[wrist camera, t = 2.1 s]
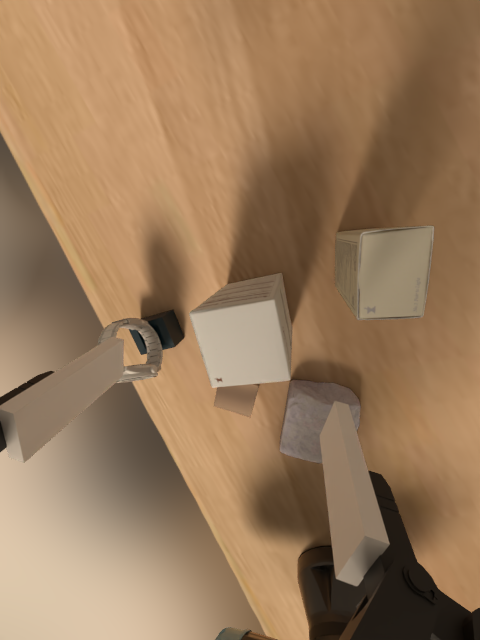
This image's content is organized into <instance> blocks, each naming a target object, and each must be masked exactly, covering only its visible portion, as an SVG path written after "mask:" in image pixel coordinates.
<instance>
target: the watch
mask: <svg viewBox="0 0 480 640" xmlns="http://www.w3.org/2000/svg"><path fill="white" fill-rule="evenodd" d="M119 328H126V329H129V331H130V333H131V335H132V337H133V339H134V341H135V343H136V345H137V347H138V349H139V351H140V354H141V355H142V354H147V353H148V354H147V362H146V364H140V365H132V366H125V367H123V376H122V377H121V378H120V379H119V380H118V381H117V382H116V383H121V382H130V381H137V380H143V379H148V378H152V377H156V376H158V373H157V372H159V371H160V370H161V364H162V357H163V352H162V350H164V349H168V348H173V347H175V346H176V345H177V344H178V343H179V342H180V341H181V340H182V339H183V338H184V335H183V332H182V330H181V327H180V325H179V323H178V320H177V318H176V315H175V313H174V311H173V310H170V311H167V312H163V313H160V314H156V315H153V316H149V317H146V318H142V319H138V318H126V319H122V320H119V321H115V322H112V324H110V325H108V326H107V327H105V329H104V330H103V331H102V333H101V335H100V337H99V340H98V345H100V344H101V343H103V342H105V341H106V340H108V339H109V338H111V337H116V335H117V331H118V329H119ZM98 345H97V346H98Z"/></svg>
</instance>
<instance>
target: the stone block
mask: <svg viewBox="0 0 480 640" xmlns="http://www.w3.org/2000/svg"><path fill="white" fill-rule="evenodd" d="M334 401H338V402H341V403H344V404H348V405H349V408H350V411H351V415H352V418H353V421H354V425H355V428H356V431H357V430H358V427H359V424H360V419H359V417H360V409H361V406H360V402H359V399H358V397H357V396H356V395H355V394H354V393H353V392H352V390H351V389H350V388H347V387H343V386H341V385H338V384H335V383H324V382H320V383H316V382H312V381H305V380H292V381H291V382H290V384H289V390H288V396H287V402H286V408H285V414H284V420H283V426H282V431H281V436H280V451H281V453H284V454H286V455H288V456H292V457H295V458H300V459H303V460H306V461H311V462H315V463H322V454H321V445H320V434H321V431H322V429H323V427H324V424H325V422H326V420H327V418H328V415H329V413H330V411H331V408H332V406H333V404H334Z"/></svg>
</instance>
